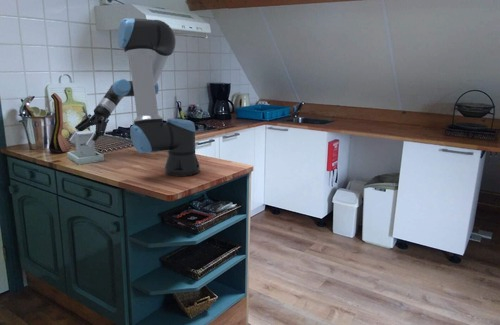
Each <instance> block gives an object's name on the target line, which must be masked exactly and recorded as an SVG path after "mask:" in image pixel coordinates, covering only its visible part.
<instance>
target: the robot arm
mask: <svg viewBox="0 0 500 325" xmlns="http://www.w3.org/2000/svg"><path fill="white" fill-rule="evenodd" d="M117 30H118V31H117V44H118V47H119V48H120V49H122V50H123V52H124V55H125V56H126V57H128V58H129V64H130V74H131V80H127V79H125V78H119V79H117V80H116V81H114V83H112V84H111V85H110V87H109V89H108V90H107V92H106V93H105V95H103V97H102V98H101V99H100V100H99V102H98V103H97V104H98V105H96V106H95V108H94V109H93V115H92V114H91V113H89V114H88V115H87V116H86V117H85V118H84V119H83V120H81V121H80V122H79V123H78V124H76V125H75V127H74V129H75V131H74V132H79V131H86V130H87V129H89V128H90V127H93V126H95V131H94V132H93V135H92V136H91V138H90V139H89V140H88V142H87V143H86V145H87V146H89V147H90V148H91V147H92V145H93V144H94V142H96V141H97V140H98V139H99V137H101V136H102V137H103V136H104V135H105V133H106V129H107V125H108V123H109V121H110V119H109V118H110V117H111V114H112V113H113V112H114V110H115V109H116V108H117V106H118V104H119V103H120V102H121V101H122V99H123V98H124V97H125V98H127V97H134V98H133V99H134V105H135V111H136V117H135V119H134V120H133V125H131V126H130V129H129V131H130V132H129V133H130V134H129V135H130V139H131V142H132V145H133V147H134V150H136V151H137V152H138V153H139V154H147V153H148V154H151V153H156V152H157V153H158V152H165V151H167V152H168V156H167V159H166V162H165V166H164V173H165V174H166V173H167V174H166V175H168V174H170V175H169V176H172V175H178V176H177V177H185V176H184V175H190V176H192V175H191V174H194V175H196V174H195V173H197V172H199V171H200V172H201V170H200V168H201V165H200V163H199V161H198V160H199V159H198V158H197V155H196V127H195V122H193V121H191V120H188V119H185V118H184V119H183V118H168V119H166V122H164V119H163V117H161V116H160V115H159V109H158V101H157V95H158V94H159V83H158V80H159V78H160V76H161V74H162V71H163V69H164V67H165V65H166V62H167V60H168V58H169V56H171V55H172V54H173V53H174V51H175V49H176V41H177V40H176V35H175V32H174V31H173V29H172V27H171V26H170V25H169V24H168V23H166V22H165V21H163V20H159V19H149V18H137V17H136V18H135V17H131V18H130V17H129V18H128V17H126V18H123V19H121V21H120V22H119V26H118V29H117ZM74 132H73V134H72V136H71V137H70V139H68V141H70V142H71V144H75V133H74ZM200 172H199V173H200ZM197 174H198V173H197Z"/></svg>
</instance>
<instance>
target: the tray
mask: <svg viewBox="0 0 500 325" xmlns="http://www.w3.org/2000/svg"><path fill="white" fill-rule="evenodd" d="M95 153H96V156H91V157H84V158H78V157H77V154H76V150H72V151H66V155H67V159H69V160H70V161H72V162H74V163H75V164H76V165H78V166H79V164H80V165H84V164H85V165H86V163H87V164H92V162H93V163H98V162H104V161H105V155H104V154H103V153H101V152H98V151H97V150H95Z"/></svg>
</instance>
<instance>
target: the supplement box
mask: <svg viewBox="0 0 500 325" xmlns="http://www.w3.org/2000/svg"><path fill="white" fill-rule="evenodd" d="M74 133H75V143H74V144H75V151H76V154H77V157H78V158H84V157H91V156H96V153H95V151H96V147H95V146H96V144H95V142H96V141H95V142H94V144H93V145H92V147H91V148H90V147H89V146H87V145H86V143H87V142H88V140H89V139H90V138H91V136H92V135H93V133H94V131H91V130H83V131H79V132H75V131H74V132H73V134H74Z"/></svg>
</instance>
